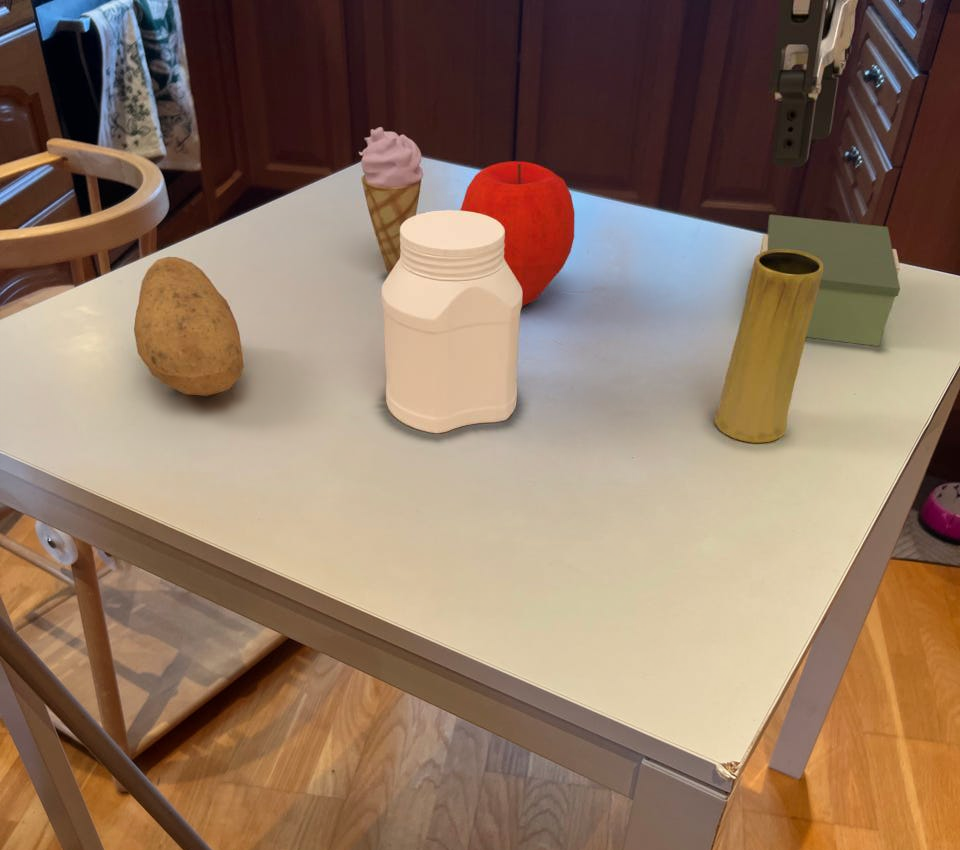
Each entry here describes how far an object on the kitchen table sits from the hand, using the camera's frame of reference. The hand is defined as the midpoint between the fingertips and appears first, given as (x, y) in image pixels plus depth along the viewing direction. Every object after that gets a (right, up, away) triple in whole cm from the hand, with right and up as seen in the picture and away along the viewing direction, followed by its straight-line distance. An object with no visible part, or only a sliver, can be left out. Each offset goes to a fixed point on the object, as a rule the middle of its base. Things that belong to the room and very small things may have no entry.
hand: (801, 151), depth 65 cm
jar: (-24, -12, +21) cm, 34 cm away
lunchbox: (+14, +3, +37) cm, 40 cm away
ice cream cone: (-31, +7, +41) cm, 52 cm away
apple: (-18, +3, +37) cm, 41 cm away
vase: (+2, -14, +19) cm, 24 cm away
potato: (-47, -10, +22) cm, 53 cm away
